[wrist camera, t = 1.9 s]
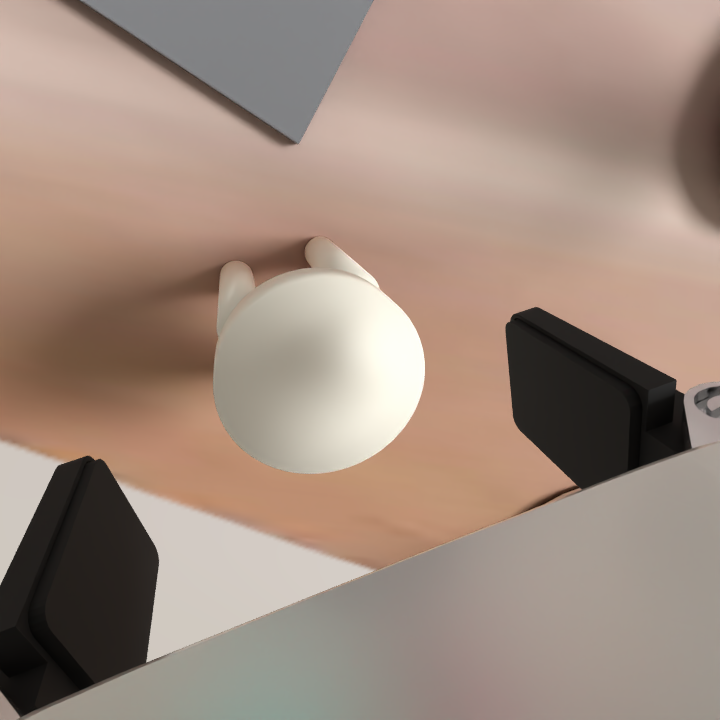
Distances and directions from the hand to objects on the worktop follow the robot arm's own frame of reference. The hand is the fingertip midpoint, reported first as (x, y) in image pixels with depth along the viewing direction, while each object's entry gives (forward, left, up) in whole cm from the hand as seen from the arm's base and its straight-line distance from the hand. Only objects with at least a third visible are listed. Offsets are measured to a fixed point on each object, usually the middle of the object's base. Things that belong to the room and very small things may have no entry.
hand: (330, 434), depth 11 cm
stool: (-1, 0, -12) cm, 12 cm away
